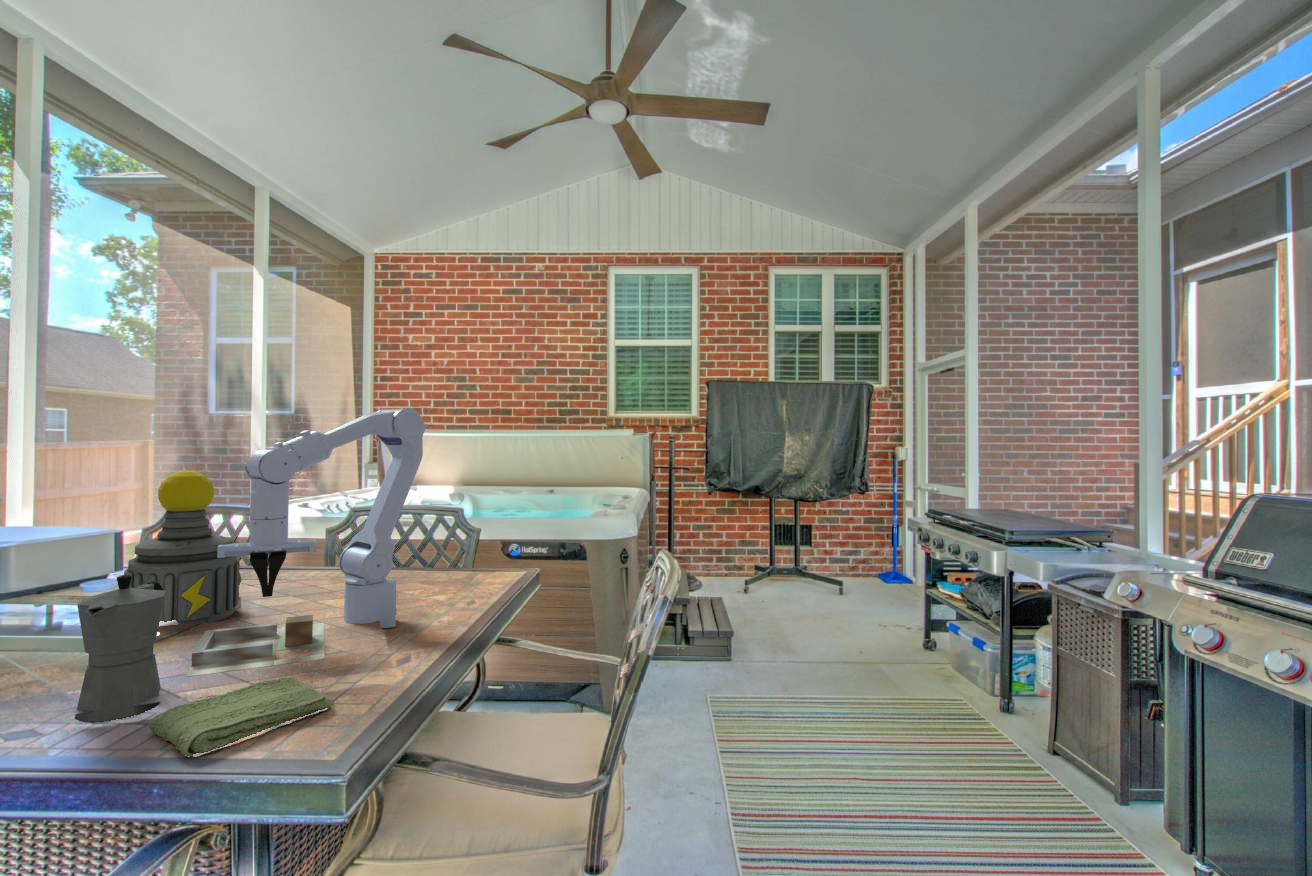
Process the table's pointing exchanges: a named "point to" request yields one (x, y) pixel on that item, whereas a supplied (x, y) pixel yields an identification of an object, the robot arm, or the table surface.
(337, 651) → the table surface
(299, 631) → the walnut block
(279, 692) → the washcloth
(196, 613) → the decorative lamp
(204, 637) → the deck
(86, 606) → the coffeepot
